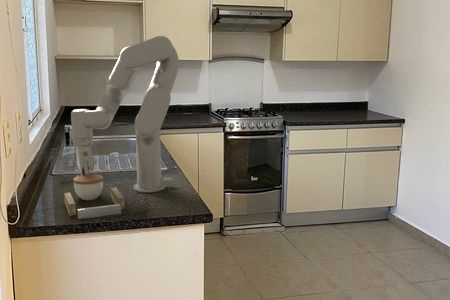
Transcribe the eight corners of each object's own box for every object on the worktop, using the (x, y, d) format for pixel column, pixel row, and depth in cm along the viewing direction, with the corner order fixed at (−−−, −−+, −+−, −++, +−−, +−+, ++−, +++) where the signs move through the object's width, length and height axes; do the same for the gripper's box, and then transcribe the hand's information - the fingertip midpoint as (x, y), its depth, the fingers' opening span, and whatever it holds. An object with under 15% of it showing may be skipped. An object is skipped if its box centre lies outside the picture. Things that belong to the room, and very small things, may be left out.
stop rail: (120, 212, 167) (119, 203, 166) (121, 213, 166) (120, 205, 165) (77, 217, 162) (77, 209, 161) (78, 219, 160) (78, 210, 160)
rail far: (70, 203, 177) (70, 192, 176) (75, 214, 164) (75, 203, 164) (64, 203, 176) (64, 193, 175) (69, 215, 164) (68, 204, 163)
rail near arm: (116, 197, 183) (115, 187, 183) (124, 208, 171) (124, 197, 170) (110, 198, 183) (110, 188, 182) (118, 209, 170) (118, 198, 169)
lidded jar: (73, 195, 186) (72, 171, 184) (102, 192, 190) (101, 169, 188) (75, 203, 177) (74, 178, 175) (105, 200, 180) (104, 175, 178)
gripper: (95, 144, 182) (98, 191, 186) (89, 137, 196) (92, 181, 200) (75, 145, 180) (78, 193, 183) (70, 138, 193) (73, 183, 197)
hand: (85, 187), depth 191 cm, fingers closed
